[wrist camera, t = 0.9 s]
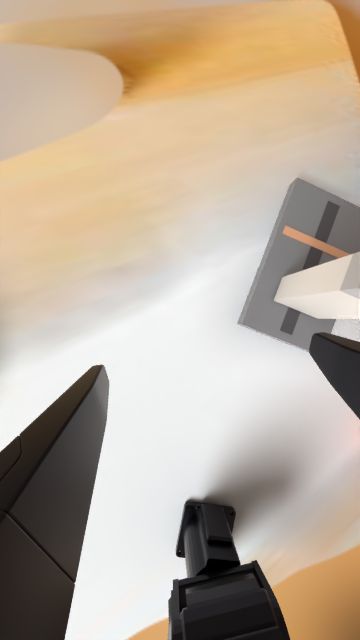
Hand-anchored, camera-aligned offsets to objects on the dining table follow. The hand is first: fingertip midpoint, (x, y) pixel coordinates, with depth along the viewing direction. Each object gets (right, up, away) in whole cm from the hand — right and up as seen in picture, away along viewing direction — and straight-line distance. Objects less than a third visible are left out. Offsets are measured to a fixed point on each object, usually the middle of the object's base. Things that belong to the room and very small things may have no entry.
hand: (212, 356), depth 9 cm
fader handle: (+13, +4, +17) cm, 22 cm away
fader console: (+14, +8, +19) cm, 25 cm away
